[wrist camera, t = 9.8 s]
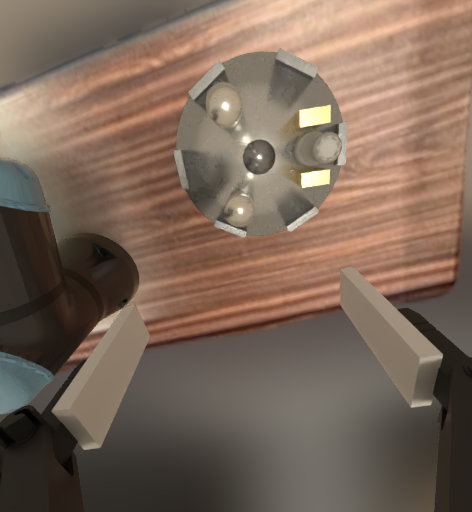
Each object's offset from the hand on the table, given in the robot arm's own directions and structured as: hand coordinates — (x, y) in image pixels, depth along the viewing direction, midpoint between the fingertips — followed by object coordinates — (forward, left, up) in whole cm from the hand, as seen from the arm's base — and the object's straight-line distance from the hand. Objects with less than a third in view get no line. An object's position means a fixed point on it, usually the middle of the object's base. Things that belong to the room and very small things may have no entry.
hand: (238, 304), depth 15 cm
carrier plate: (+4, +8, -24) cm, 26 cm away
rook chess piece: (+10, +8, -23) cm, 26 cm away
